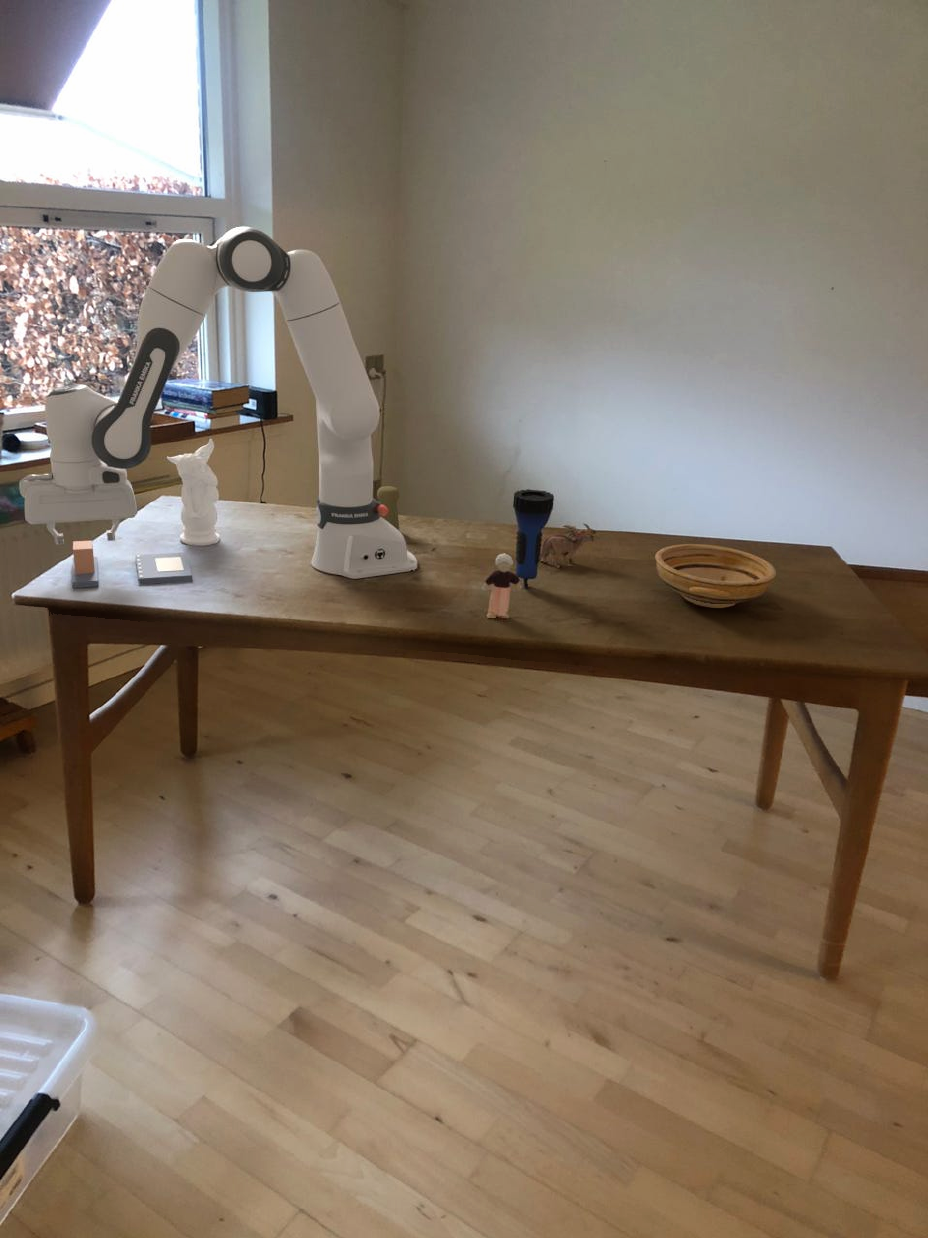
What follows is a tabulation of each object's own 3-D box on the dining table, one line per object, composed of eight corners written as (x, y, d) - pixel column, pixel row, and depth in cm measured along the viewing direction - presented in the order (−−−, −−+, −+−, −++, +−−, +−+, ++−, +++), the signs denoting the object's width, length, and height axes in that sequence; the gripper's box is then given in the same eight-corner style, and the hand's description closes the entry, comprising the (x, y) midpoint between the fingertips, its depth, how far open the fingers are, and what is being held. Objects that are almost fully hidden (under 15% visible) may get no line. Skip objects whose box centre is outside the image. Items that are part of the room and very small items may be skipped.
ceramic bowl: (768, 634, 182) (776, 595, 179) (641, 613, 188) (647, 575, 185) (769, 584, 208) (776, 550, 205) (657, 567, 214) (662, 533, 211)
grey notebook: (185, 557, 202) (185, 551, 201) (192, 580, 190) (192, 574, 189) (135, 560, 198) (135, 554, 198) (139, 584, 186) (138, 578, 186)
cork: (395, 537, 223) (397, 491, 219) (371, 534, 224) (372, 488, 220) (402, 530, 228) (404, 485, 224) (378, 527, 229) (379, 482, 225)
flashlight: (517, 597, 192) (525, 501, 184) (499, 583, 199) (507, 490, 191) (551, 593, 195) (561, 498, 188) (533, 579, 202) (541, 488, 194)
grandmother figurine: (485, 622, 179) (490, 558, 174) (477, 614, 182) (482, 551, 177) (522, 618, 182) (528, 555, 177) (513, 610, 185) (519, 548, 180)
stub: (97, 562, 196) (94, 533, 193) (98, 586, 184) (95, 555, 181) (73, 563, 194) (70, 534, 192) (72, 588, 182) (69, 557, 180)
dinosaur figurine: (578, 556, 218) (582, 517, 215) (592, 565, 214) (597, 525, 210) (526, 562, 213) (530, 522, 209) (539, 570, 208) (543, 530, 204)
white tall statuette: (199, 550, 207) (192, 450, 198) (154, 540, 211) (146, 442, 202) (234, 535, 217) (230, 440, 208) (191, 526, 221) (185, 431, 213)
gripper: (16, 479, 175) (27, 551, 180) (134, 473, 181) (140, 542, 187) (18, 471, 180) (28, 540, 186) (132, 465, 187) (139, 533, 192)
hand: (85, 541), depth 186 cm, fingers open, 8 cm apart
